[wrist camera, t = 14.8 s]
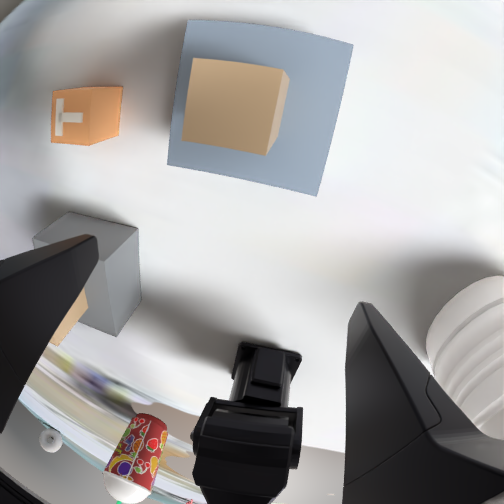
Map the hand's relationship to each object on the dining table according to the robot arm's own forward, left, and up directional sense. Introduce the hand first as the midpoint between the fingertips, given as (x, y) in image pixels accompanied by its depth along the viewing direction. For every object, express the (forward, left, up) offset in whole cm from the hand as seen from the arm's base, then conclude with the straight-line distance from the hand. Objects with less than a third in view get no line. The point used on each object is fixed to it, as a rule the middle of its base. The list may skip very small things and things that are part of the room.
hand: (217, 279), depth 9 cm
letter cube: (+3, +14, -13) cm, 19 cm away
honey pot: (-9, -25, -13) cm, 30 cm away
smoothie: (-45, +11, -13) cm, 48 cm away
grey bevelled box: (-11, +14, -13) cm, 22 cm away
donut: (-97, +55, -13) cm, 112 cm away
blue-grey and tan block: (+5, +1, -13) cm, 14 cm away
